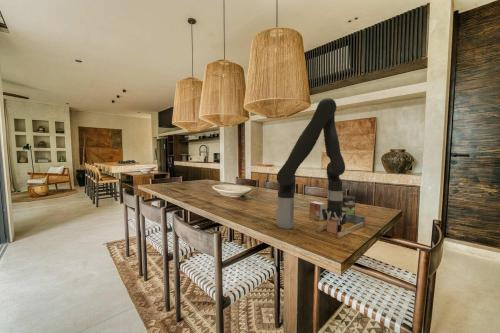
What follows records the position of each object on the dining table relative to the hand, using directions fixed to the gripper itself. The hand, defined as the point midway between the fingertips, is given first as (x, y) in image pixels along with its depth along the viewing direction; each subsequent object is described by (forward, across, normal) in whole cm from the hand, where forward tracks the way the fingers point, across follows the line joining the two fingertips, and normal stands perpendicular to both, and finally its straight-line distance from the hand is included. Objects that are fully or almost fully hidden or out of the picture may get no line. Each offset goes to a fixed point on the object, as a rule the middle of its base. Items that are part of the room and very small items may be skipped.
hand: (334, 229), depth 114 cm
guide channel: (+1, 0, +8) cm, 8 cm away
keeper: (+1, 0, 0) cm, 1 cm away
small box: (+1, -19, +13) cm, 23 cm away
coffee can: (+1, -8, +30) cm, 31 cm away
